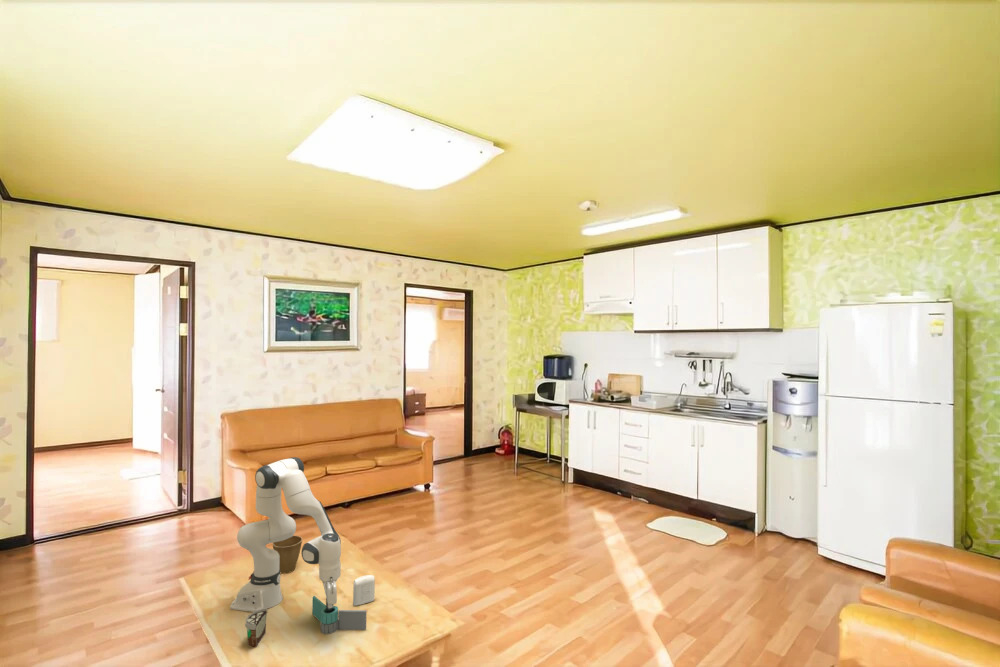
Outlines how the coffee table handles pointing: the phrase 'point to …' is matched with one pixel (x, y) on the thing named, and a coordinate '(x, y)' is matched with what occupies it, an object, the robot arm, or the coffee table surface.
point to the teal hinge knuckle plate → (323, 612)
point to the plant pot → (288, 553)
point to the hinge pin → (328, 610)
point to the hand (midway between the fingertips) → (329, 604)
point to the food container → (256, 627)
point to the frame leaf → (346, 621)
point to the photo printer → (363, 590)
